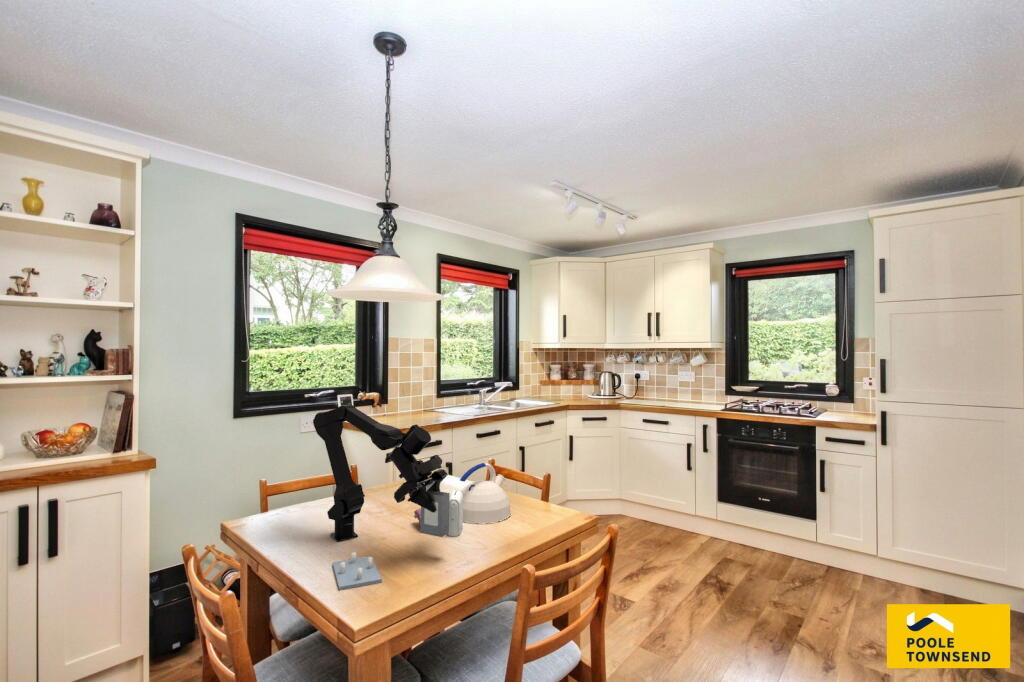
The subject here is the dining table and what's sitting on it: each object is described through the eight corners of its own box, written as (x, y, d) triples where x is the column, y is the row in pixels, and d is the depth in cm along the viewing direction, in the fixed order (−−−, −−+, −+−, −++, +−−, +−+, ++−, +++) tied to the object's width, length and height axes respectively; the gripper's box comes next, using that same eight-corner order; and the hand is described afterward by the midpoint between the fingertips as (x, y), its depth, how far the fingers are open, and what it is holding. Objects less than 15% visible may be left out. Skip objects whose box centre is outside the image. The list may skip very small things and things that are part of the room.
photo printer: (460, 536, 150) (460, 496, 150) (446, 536, 150) (446, 496, 150) (463, 525, 160) (464, 487, 160) (450, 525, 160) (451, 487, 160)
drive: (420, 533, 135) (420, 493, 135) (428, 528, 138) (428, 489, 138) (441, 537, 132) (442, 496, 132) (448, 532, 135) (449, 493, 135)
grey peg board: (332, 565, 129) (332, 552, 129) (371, 558, 133) (371, 546, 133) (339, 590, 115) (339, 576, 115) (381, 582, 120) (382, 568, 120)
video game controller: (418, 527, 162) (409, 509, 161) (430, 519, 164) (421, 501, 163) (427, 537, 154) (418, 518, 152) (440, 528, 156) (430, 510, 154)
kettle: (523, 514, 172) (523, 463, 172) (480, 529, 157) (480, 473, 157) (484, 502, 185) (484, 454, 186) (441, 514, 170) (441, 463, 171)
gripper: (403, 452, 129) (437, 500, 124) (442, 441, 145) (474, 483, 140) (379, 479, 132) (411, 526, 127) (420, 465, 149) (450, 506, 144)
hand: (439, 509), depth 134 cm, fingers closed on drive, 4 cm apart
